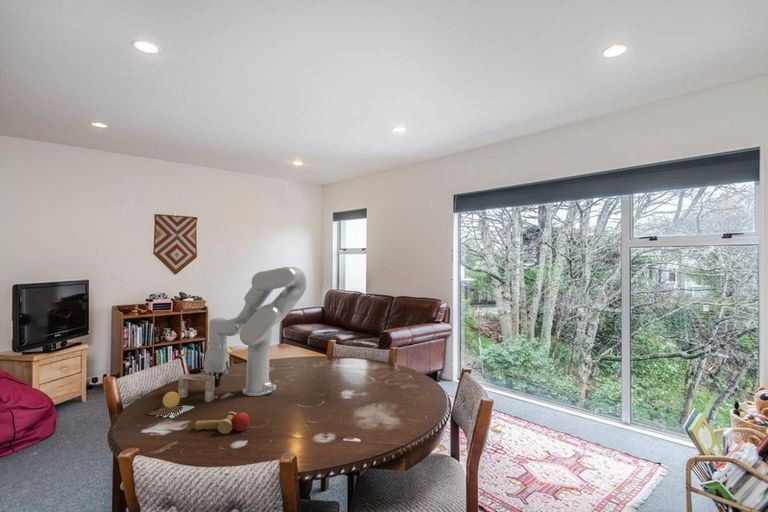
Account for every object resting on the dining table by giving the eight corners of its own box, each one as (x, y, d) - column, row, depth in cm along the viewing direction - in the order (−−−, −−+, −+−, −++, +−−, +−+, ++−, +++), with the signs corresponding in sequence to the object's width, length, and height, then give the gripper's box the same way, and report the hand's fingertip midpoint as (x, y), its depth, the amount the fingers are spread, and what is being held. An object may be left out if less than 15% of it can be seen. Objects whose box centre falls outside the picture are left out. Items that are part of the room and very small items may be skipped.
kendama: (191, 439, 129) (245, 432, 130) (190, 419, 131) (244, 412, 131) (202, 434, 137) (253, 427, 137) (201, 415, 138) (252, 408, 139)
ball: (175, 389, 153) (166, 404, 149) (186, 396, 157) (177, 410, 153) (165, 388, 155) (156, 403, 152) (175, 395, 159) (167, 409, 156)
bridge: (183, 396, 167) (184, 373, 167) (213, 399, 164) (214, 376, 164) (178, 398, 164) (178, 375, 165) (209, 402, 161) (209, 378, 161)
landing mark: (194, 407, 155) (194, 406, 155) (171, 418, 143) (171, 417, 143) (169, 404, 158) (169, 403, 158) (144, 414, 146) (144, 414, 146)
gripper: (197, 346, 175) (196, 387, 175) (226, 348, 172) (225, 390, 171) (208, 343, 183) (207, 383, 182) (237, 345, 179) (235, 385, 179)
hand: (216, 386), depth 177 cm, fingers closed
